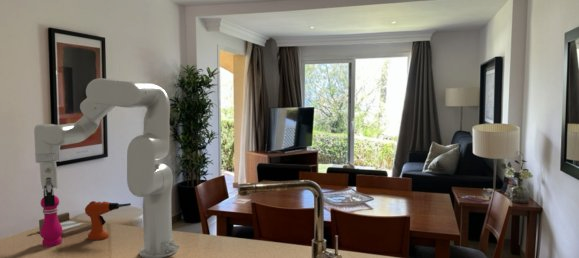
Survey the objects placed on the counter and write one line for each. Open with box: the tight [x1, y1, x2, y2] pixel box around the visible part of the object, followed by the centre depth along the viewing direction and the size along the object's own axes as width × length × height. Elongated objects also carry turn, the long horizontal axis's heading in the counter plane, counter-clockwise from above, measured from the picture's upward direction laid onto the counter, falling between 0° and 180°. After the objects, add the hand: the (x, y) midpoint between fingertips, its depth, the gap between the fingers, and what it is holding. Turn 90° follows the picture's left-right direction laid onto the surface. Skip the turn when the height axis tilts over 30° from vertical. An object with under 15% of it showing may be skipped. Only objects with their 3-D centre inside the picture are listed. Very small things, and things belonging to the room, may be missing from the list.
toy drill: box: [84, 200, 132, 241], centre depth 156 cm, size 5×19×15 cm, turn 87°
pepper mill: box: [39, 194, 63, 247], centre depth 150 cm, size 7×7×20 cm
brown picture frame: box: [38, 212, 92, 239], centre depth 166 cm, size 16×12×5 cm
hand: (49, 203), depth 149 cm, fingers open, 9 cm apart
